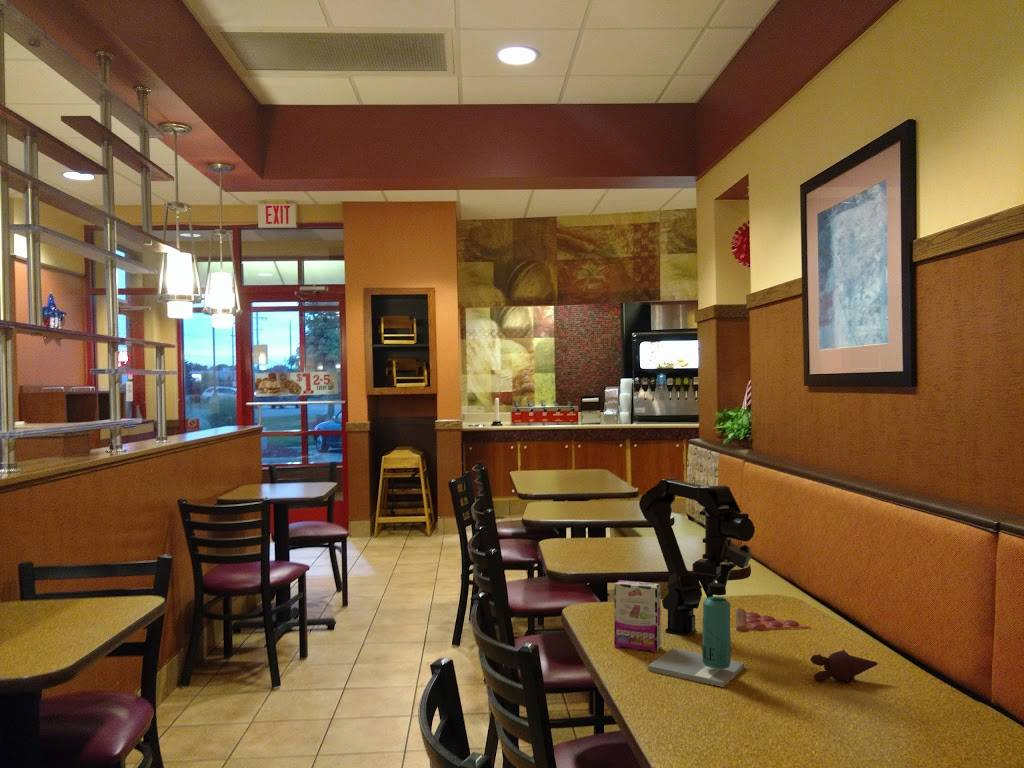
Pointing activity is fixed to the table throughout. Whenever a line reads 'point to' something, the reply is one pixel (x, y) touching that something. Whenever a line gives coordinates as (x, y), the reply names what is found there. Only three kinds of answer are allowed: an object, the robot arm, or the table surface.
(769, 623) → the pizza slice
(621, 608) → the candy bar box
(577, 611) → the table surface
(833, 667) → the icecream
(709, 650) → the beverage bottle
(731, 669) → the grey flat rectangular block
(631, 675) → the table surface
